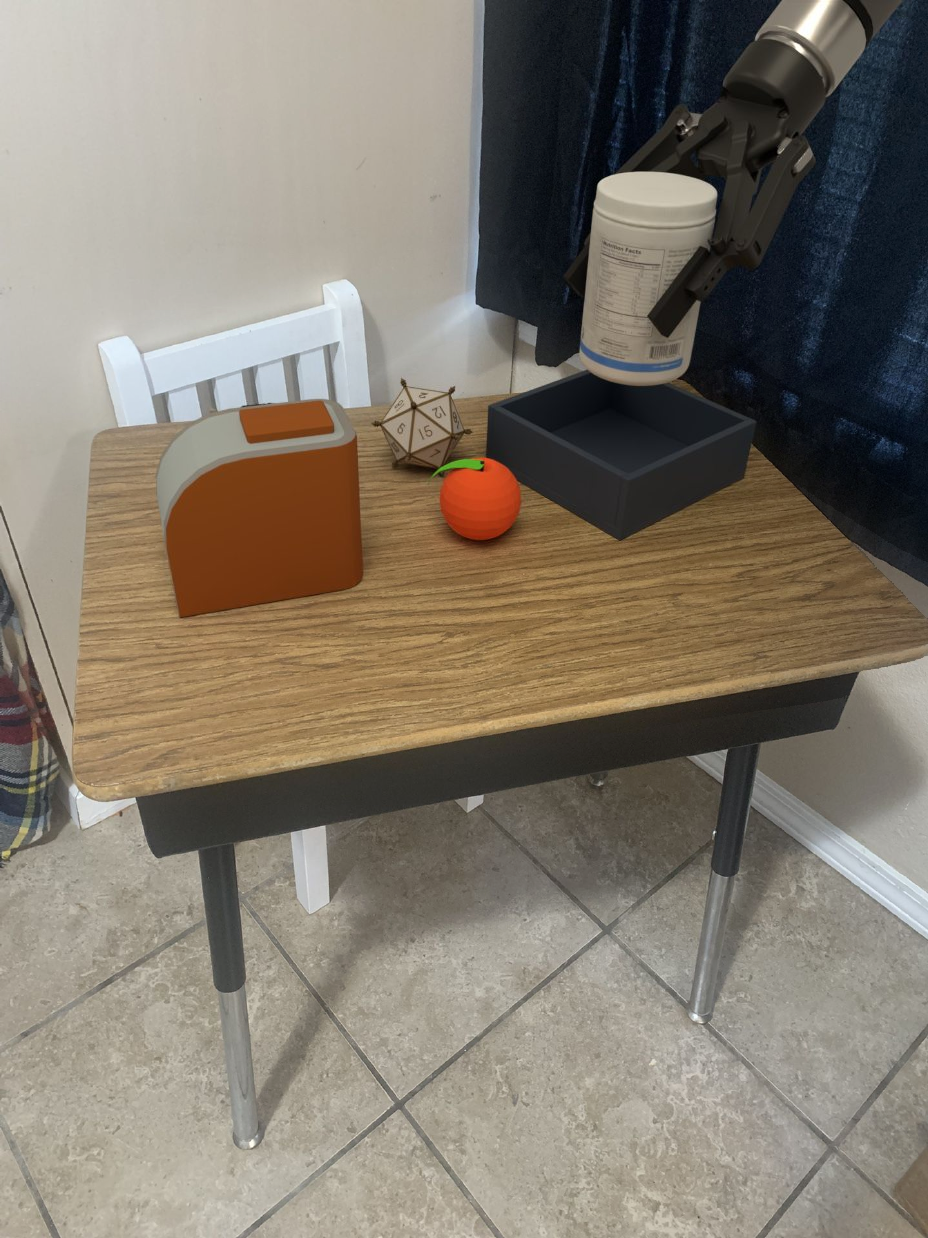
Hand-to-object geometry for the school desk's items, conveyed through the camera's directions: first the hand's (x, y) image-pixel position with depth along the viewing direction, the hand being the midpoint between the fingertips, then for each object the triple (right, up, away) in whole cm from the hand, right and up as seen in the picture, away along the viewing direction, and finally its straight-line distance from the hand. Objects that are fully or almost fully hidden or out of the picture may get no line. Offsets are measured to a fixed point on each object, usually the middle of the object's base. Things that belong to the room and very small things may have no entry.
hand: (613, 306), depth 79 cm
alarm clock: (-28, -22, 0) cm, 36 cm away
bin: (+2, -11, +15) cm, 19 cm away
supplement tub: (+2, -4, +5) cm, 7 cm away
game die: (-16, -11, +15) cm, 24 cm away
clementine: (-11, -18, +6) cm, 22 cm away
